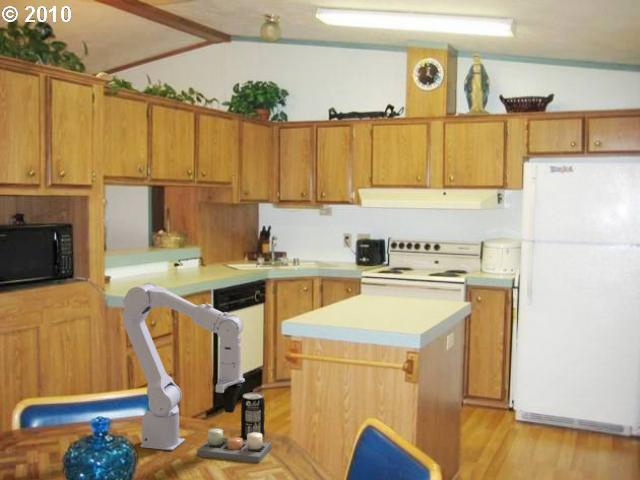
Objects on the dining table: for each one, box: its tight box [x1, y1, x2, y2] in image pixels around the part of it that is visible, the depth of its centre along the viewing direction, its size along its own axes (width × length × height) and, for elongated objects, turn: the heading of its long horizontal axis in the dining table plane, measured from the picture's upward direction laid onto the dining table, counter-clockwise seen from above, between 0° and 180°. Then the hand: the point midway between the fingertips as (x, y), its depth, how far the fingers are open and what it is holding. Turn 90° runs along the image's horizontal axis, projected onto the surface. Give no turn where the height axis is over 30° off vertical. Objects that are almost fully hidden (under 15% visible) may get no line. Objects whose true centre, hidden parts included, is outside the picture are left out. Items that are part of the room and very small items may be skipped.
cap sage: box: [207, 428, 224, 445], centre depth 178 cm, size 4×4×3 cm
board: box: [196, 437, 272, 464], centre depth 176 cm, size 17×10×2 cm, turn 77°
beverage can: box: [240, 392, 266, 440], centre depth 187 cm, size 7×7×12 cm
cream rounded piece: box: [247, 432, 263, 449], centre depth 175 cm, size 4×4×3 cm
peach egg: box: [227, 436, 244, 450], centre depth 176 cm, size 4×4×3 cm
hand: (229, 411), depth 179 cm, fingers closed
